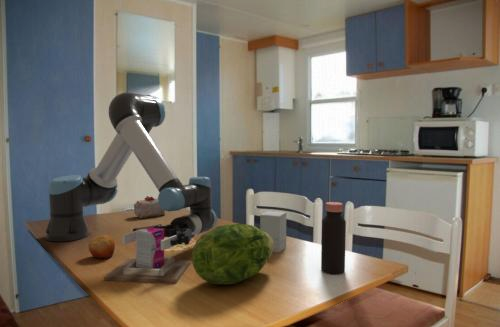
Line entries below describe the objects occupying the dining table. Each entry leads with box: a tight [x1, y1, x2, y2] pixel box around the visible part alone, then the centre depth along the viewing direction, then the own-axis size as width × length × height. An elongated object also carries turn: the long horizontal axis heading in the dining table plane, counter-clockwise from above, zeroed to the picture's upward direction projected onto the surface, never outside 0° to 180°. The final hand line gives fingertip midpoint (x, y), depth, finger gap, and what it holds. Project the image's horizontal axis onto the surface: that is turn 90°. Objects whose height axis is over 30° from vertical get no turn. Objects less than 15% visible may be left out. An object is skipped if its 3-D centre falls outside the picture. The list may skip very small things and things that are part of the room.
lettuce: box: [191, 223, 274, 285], centre depth 108 cm, size 15×27×16 cm, turn 137°
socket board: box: [103, 256, 191, 284], centre depth 114 cm, size 20×16×2 cm
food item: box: [133, 196, 166, 219], centre depth 192 cm, size 14×8×10 cm, turn 128°
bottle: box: [320, 201, 347, 275], centre depth 115 cm, size 7×7×20 cm
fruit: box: [88, 234, 116, 259], centre depth 128 cm, size 8×8×8 cm
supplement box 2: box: [259, 210, 287, 253], centre depth 138 cm, size 7×7×13 cm
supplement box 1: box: [135, 226, 165, 269], centre depth 114 cm, size 6×6×12 cm
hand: (142, 242), depth 111 cm, fingers open, 13 cm apart
